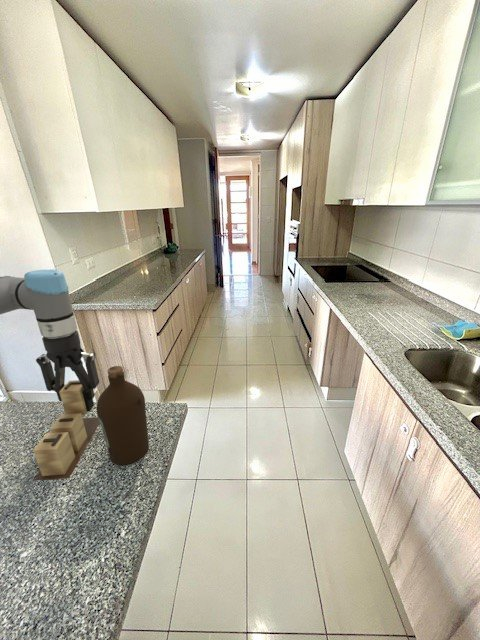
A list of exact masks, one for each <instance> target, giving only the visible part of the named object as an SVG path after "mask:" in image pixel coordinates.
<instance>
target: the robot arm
mask: <svg viewBox="0 0 480 640" xmlns="http://www.w3.org/2000/svg"><path fill="white" fill-rule="evenodd" d="M73 309H74V308H73V305H72V301H71V295H70V292H69V285H68V283H67V280H66V277H65V275H64V272H62V271H61V270H58V269H37V270H29V271H27V272H25V274H24V276H23V277H18V276H17V277H16V276H11V275H3V276H0V315H3V314H7V313H10V312H12V311H13V312H14V311H16V310H28V311H31V310H32V311H33V313H34V316H35V320H36V322H37V326H38V329H39V332H40V333H39V334H40V335H41V336H42V338H41V340H42V343H43V347H44V350H45V352H46V353H42V354H41V355H40V356H38V357H37V358H35V362H36V363H37V364H38V366H39V367H40V371H41V375H42V378H43V380H44V384H45V388H46V390H47V391H48V392H51V391H53V392H55V393H56V396H57V400H58V401H59V402H62V399H61V396H60V393H59V391H60V390H61V389H62V388H63V387H64V386H65V385H66V384H67V383H65V382H66V379H65V378H66V368H69V369H70V370H71V371H72V372H73V373H74V374H75V376H76V377H77V380H79V381H80V383H81V384H82V386H83V388H84V390H83V392H82V393H83V397H84V401H85V405H86V409H87V413H91V411H92V410H93V408H94V405H95V403H94V398H95V390H96V389H97V387H98V386H99V384H100V378H99V373H98V370H97V369H98V368H97V365H96V361H95V359H96V353H95V352H93V351H92V352H90V353H89V352H86V351H84V349H83V348H82V347H81V346H82V345H81V339H80V335H79V331H78V326H77V322H76V318H75V317H76V316H75V313H74V311H73ZM82 358H83V361H82ZM83 362H84V363H85V366H84V363H83ZM52 363H53V365H54V366H53V365H52ZM62 406H63V405H62ZM63 408H64V406H63Z"/></svg>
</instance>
